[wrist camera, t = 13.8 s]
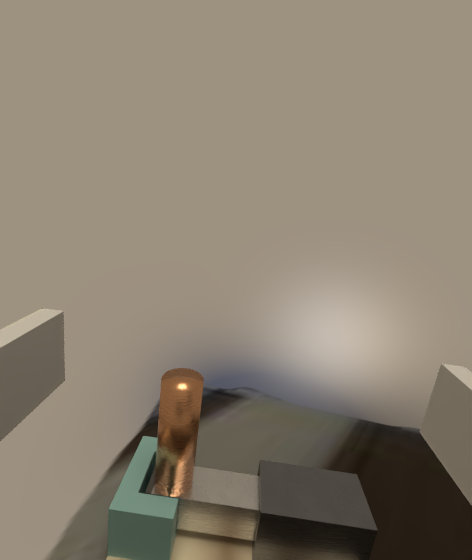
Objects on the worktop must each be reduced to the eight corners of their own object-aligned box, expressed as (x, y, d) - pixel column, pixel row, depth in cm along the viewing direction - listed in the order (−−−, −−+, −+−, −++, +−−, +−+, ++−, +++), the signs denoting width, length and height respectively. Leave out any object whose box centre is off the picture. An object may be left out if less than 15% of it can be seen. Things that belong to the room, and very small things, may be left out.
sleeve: (345, 517, 37) (356, 474, 35) (362, 579, 31) (377, 530, 29) (252, 503, 37) (260, 460, 36) (252, 561, 31) (260, 512, 30)
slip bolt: (281, 508, 36) (306, 385, 32) (285, 546, 32) (314, 411, 28) (155, 488, 36) (164, 365, 32) (143, 524, 32) (151, 388, 28)
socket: (188, 482, 39) (192, 443, 37) (168, 565, 30) (173, 519, 29) (141, 474, 39) (143, 436, 38) (107, 555, 30) (108, 508, 29)
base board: (339, 509, 39) (340, 502, 39) (366, 611, 29) (369, 602, 29) (141, 479, 40) (142, 472, 40) (105, 569, 30) (105, 560, 30)
